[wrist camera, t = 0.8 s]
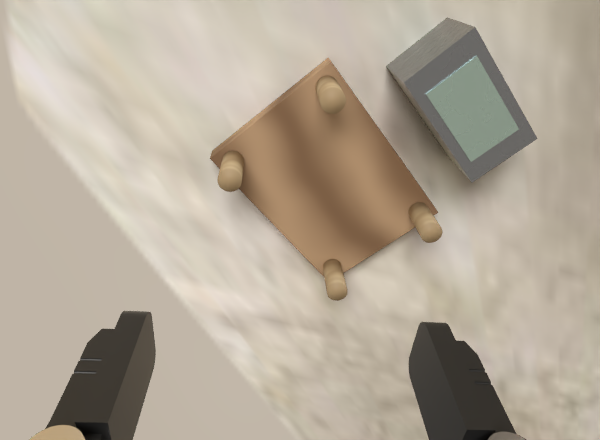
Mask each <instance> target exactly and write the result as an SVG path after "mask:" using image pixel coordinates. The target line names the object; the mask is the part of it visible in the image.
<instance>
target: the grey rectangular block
mask: <svg viewBox="0 0 600 440" xmlns="http://www.w3.org/2000/svg"><path fill="white" fill-rule="evenodd" d="M386 67H387V68H388V70H389V71H390V73H391V74H392V75H393V77H394V78H395V80H396V81H397V83H398V84H399V86H400V87H401V88H402V90H403V91H404V93H405V94H406V96H407V97H408V99H409V100H410V102H411V103H412V104H413V106H414V107H415V109H416V110H417V112H418V113H419V115H420V116H421V118H422V119H423V120H424V122H425V123H426V125H427V126H428V128H429V129H430V131H431V132H432V134H433V135H434V136H435V138H436V139H437V141H438V142H439V144H440V145H441V147H442V148H443V150H444V151H445V152H446V154H447V155H448V157H449V158H450V159H451V160H452V161H453V162H454V163H455V165H456V166H457V167H458V168H459V169H460V170H461V171H462V172H463V173H464V175H465V176H466V177H467V178H468V179H469V180H470V181H471V182H473V181H475V180H476V179H478V178H479V177H481V176H482V175H484V174H485V173H487V172H488V171H490V170H491V169H493V168H494V167H496V166H497V165H499V164H500V163H502V162H503V161H505V160H506V159H508V158H509V157H511V156H512V155H514V154H515V153H517V152H518V151H520V150H521V149H523V148H524V147H526V146H527V145H529V144H530V143H532V142H533V141H535V140H536V139H537V137H536V135H535V134H534V132H533V130H532V128H531V126H530V125H529V123H528V121H527V119H526V118H525V116H524V114H523V112H522V110H521V109H520V107H519V105H518V103H517V101H516V100H515V98H514V96H513V94H512V92H511V91H510V89H509V87H508V85H507V83H506V82H505V80H504V78H503V76H502V74H501V73H500V71H499V69H498V67H497V65H496V64H495V62H494V60H493V58H492V57H491V55H490V53H489V51H488V49H487V48H486V46H485V44H484V42H483V40H482V39H481V37H480V35H479V33H478V31H477V30H476V28H475V27H473V26H470V25H467V24H464V23H462V22H459V21H456V20H453V19H450V18H446V19H445V20H444V21H442V22H441V23H440V24H439V25H437V26H436V27H435V28H434V29H432V30H431V31H430V32H429V33H427V34H426V35H425V36H424V37H422V38H421V39H420V40H418V41H417V42H416V43H415V44H413V45H412V46H411V47H410V48H408V49H407V50H406V51H405V52H403V53H402V54H401V55H400V56H398V57H397V58H396V59H395V60H393V61H392V62H391V63H390V64H388V65H387V66H386Z"/></svg>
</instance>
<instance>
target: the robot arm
mask: <svg viewBox="0 0 600 440" xmlns="http://www.w3.org/2000/svg"><path fill="white" fill-rule="evenodd" d="M154 363H155V340H154V332H153V323H152V316H151V313H150V312H140V311H123V312H122V314H121V316H120V318H119V320H118V322H117V325H116V327H115V329H101V330H100V331H99V332H98V333H97V334H96V335H95V336H94V337H93V338H92V339H91V340H90V341H89V342H88V343H87V345H86V347H85V349H84V352H83V354H82V356H81V359H80V361H79V362H78V364H77V366H76V368H75V370H74V374H72V376H71V378H70V381H69V383H68V385H67V387H66V389H65V391H64V393H63V395H62V397H61V399H60V401H59V403H58V405H57V407H56V410H55V412H54V414H53V416H52V418H51V420H50V422H49V424H48V425H47V427H46V428H45V429H44V430H42V431H40V432H38V433H37V434H35V435H34V436H33V437H31V438H30V439H29V440H133V436H134V433H135V430H136V426H137V423H138V419H139V416H140V413H141V409H142V406H143V403H144V399H145V396H146V392H147V389H148V386H149V382H150V379H151V376H152V372H153V369H154ZM409 374H410V379H411V382H412V385H413V389H414V392H415V395H416V398H417V402H418V405H419V408H420V411H421V415H422V418H423V421H424V424H425V428H426V431H427V434H428V437H429V440H526V439H524V438H523V437H521V436H519V435H517V434H516V432H515V430H514V428H513V426H512V424H511V422H510V420H509V418H508V416H507V414H506V412H505V410H504V408H503V406H502V404H501V402H500V400H499V398H498V396H497V394H496V392H495V390H494V387H493V385H491V381H490V379H489V377H488V375H487V373H485V369H484V367H483V365H482V363H481V361H480V359H479V357H478V355H477V354H476V353H475V352H474V351H473V350H472V348H471V347H470V346H469V345H468V344H467V343H466V342H465V341H456V340H455V338H454V336H453V334H452V331H451V329H450V327H449V325H448V324H447V323H433V322H421V323H420V325H419V327H418V330H417V333H416V337H415V340H414V343H413V347H412V350H411V354H410V357H409Z"/></svg>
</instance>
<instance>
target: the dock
mask: <svg viewBox="0 0 600 440" xmlns="http://www.w3.org/2000/svg"><path fill="white" fill-rule="evenodd" d="M210 159H211V160H212V161H213V162H214V163H215V164H216V165H217V166H218V167H219V168H220V171H219V175H218V184H219V186H220V187H221V188H222V189H223V190H225V191H229V192H232V191H235V190H237V189H238V188H239V189H240V190H241V191H242V192H243V193H244V194H245V195H246V196H247V197H248V198H249V200H250V201H251V202H252V203H253V204H254V205H255V206H256V207H257V208H258V209H259V210H260V211H261V212H262V213H263V214H264V215H265V216H266V217H267V218H268V219H269V220H270V221H271V222H272V223H273V224H274V225H275V227H276V228H277V229H278V230H279V231H280V232H281V233H282V234H283V235H284V236H285V237H286V238H287V239H288V240H289V241H290V242H291V243H292V244H293V245H294V246H295V247H296V248H297V249H298V250H299V251H300V252H301V254H302V255H303V256H304V257H305V258H306V259H307V260H308V261H309V262H310V263H311V264H312V265H313V266H314V267H315V268H316V269H317V270H318V271H319V272H320V273H321V274H322V275H323V276H324V277H325V283H326V289H327V294H328V297H329V298H330V299H332V300H341V299H343V298H345V297H346V295H347V287H346V283H345V278H344V274H343V273H344V272H346V271H347V270H349V269H350V268H352V267H354V266H355V265H357V264H358V263H360V262H361V261H363V260H364V259H366V258H368V257H369V256H371V255H372V254H374V253H375V252H377V251H379V250H380V249H382V248H383V247H385V246H386V245H388V244H390V243H391V242H393V241H394V240H396V239H397V238H399V237H401V236H402V235H404V234H405V233H407V232H408V231H410V230H412V229H413V228H415V227H416V229H417V231H418V233H419V234H420V236H421V238H422V240H423V241H425V242H428V243H432V242H435V241H437V240H438V239H439V238H440V237H441V235H442V229H441V227H440V225H439V224H438V222H437V221H436V219H435V217H434V216H433V215H435V214H437V213H438V211H437V210H436V208H435V207H434V205H433V204H432V202H431V201H430V200H429V198H428V197H427V195H426V194H425V193H424V191H423V190H422V188H421V187H420V186H419V184H418V183H417V181H416V180H415V179H414V177H413V176H412V174H411V173H410V171H409V170H408V169H407V167H406V166H405V164H404V163H403V162H402V160H401V159H400V157H399V156H398V155H397V153H396V152H395V150H394V149H393V148H392V146H391V145H390V143H389V142H388V141H387V139H386V138H385V136H384V135H383V134H382V132H381V131H380V129H379V128H378V127H377V125H376V124H375V122H374V121H373V120H372V118H371V117H370V115H369V114H368V113H367V111H366V110H365V108H364V107H363V105H362V104H361V103H360V101H359V100H358V98H357V97H356V96H355V94H354V93H353V91H352V90H351V89H350V87H349V86H348V84H347V83H346V82H345V80H344V79H343V77H342V76H341V75H340V73H339V72H338V70H337V69H336V68H335V66H334V65H333V63H332V62H331V61H330V59H329V58H327V59H326V60H325V61H323V62H322V63H321V64H320V65H319V66H317V67H316V68H315V69H314V70H312V71H311V72H310V73H309V74H307V75H306V76H305V77H304V78H302V79H301V80H300V81H299V82H297V83H296V84H295V85H294V86H292V87H291V88H290V89H289V90H287V91H286V92H285V93H284V94H282V95H281V96H280V97H279V98H277V99H276V100H275V101H274V102H273V103H271V104H270V105H269V106H268V107H266V108H265V109H264V110H263V111H261V112H260V113H259V114H258V115H256V116H255V117H254V118H253V119H251V120H250V121H249V122H248V123H246V124H245V125H244V126H243V127H241V128H240V129H239V130H238V131H236V132H235V133H234V134H233V135H231V136H230V137H229V138H228V139H227V140H225V141H224V142H223V143H222V144H220V145H219V146H218V147H217V148H215V149H214V150H213V151H212V154H211V157H210Z"/></svg>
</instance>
